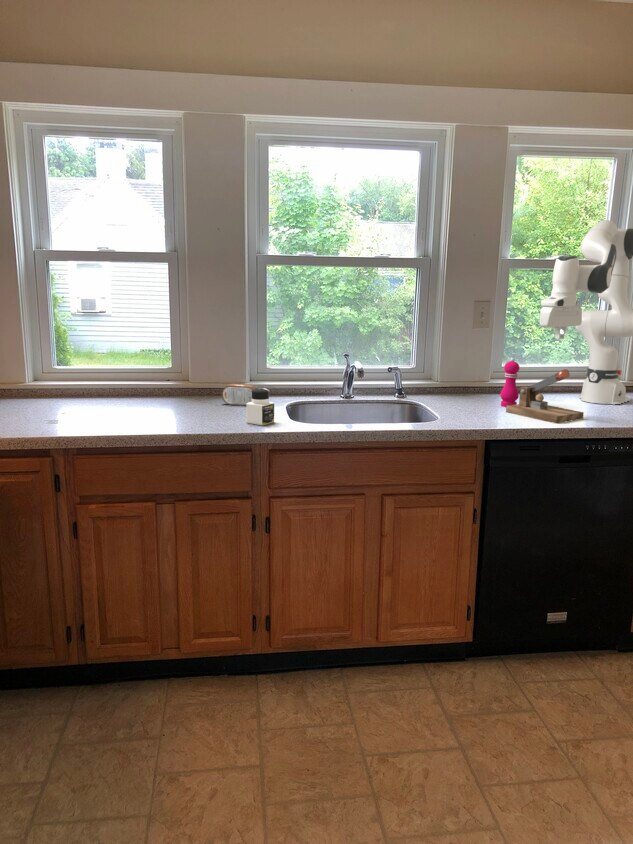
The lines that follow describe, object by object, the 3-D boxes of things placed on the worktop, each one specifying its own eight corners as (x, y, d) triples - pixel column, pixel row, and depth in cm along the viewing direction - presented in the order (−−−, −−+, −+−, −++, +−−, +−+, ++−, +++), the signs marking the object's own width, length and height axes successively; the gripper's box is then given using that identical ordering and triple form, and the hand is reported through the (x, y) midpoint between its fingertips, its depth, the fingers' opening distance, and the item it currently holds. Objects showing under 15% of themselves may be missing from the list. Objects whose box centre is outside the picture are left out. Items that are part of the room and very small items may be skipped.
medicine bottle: (262, 425, 217) (262, 391, 215) (246, 423, 221) (245, 389, 218) (274, 422, 223) (274, 388, 221) (258, 419, 227) (258, 386, 224)
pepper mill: (518, 408, 256) (522, 359, 252) (500, 407, 257) (504, 358, 253) (516, 404, 263) (520, 357, 259) (498, 403, 264) (502, 356, 260)
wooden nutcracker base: (532, 408, 256) (534, 383, 254) (582, 418, 238) (585, 392, 235) (505, 412, 248) (508, 386, 246) (556, 423, 229) (558, 396, 227)
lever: (522, 397, 248) (519, 389, 249) (527, 396, 250) (525, 389, 251) (565, 377, 231) (562, 369, 232) (570, 376, 233) (567, 368, 233)
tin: (259, 405, 253) (259, 384, 251) (257, 407, 250) (257, 386, 248) (223, 403, 255) (223, 383, 254) (220, 405, 252) (220, 384, 251)
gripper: (573, 300, 240) (569, 336, 243) (538, 301, 229) (534, 339, 232) (588, 301, 234) (584, 338, 238) (552, 301, 224) (549, 341, 227)
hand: (559, 338), depth 235 cm, fingers closed
